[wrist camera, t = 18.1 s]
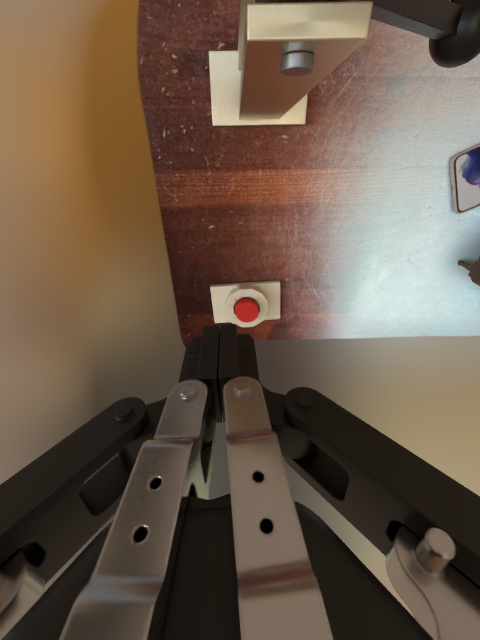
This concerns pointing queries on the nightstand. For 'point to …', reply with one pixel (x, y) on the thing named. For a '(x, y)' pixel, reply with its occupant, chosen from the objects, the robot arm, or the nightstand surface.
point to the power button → (247, 310)
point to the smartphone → (465, 179)
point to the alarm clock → (473, 271)
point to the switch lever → (431, 24)
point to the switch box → (258, 291)
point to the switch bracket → (282, 59)
